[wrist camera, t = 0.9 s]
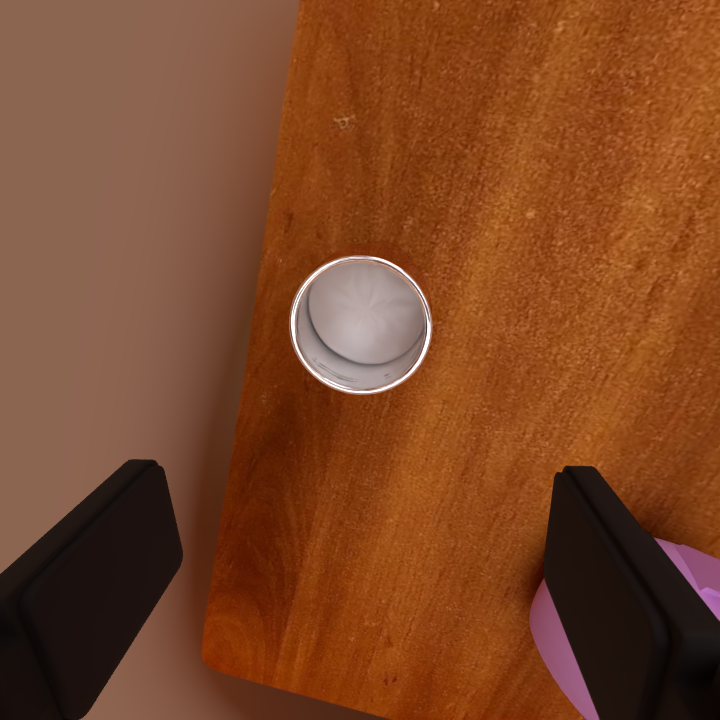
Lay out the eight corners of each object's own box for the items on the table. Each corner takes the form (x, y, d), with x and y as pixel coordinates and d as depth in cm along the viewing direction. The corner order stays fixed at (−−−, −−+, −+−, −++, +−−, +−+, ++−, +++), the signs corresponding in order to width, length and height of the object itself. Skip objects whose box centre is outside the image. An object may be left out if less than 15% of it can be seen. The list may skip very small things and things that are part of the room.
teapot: (804, 532, 36) (1059, 732, 22) (661, 669, 43) (787, 889, 29) (606, 447, 36) (741, 599, 21) (491, 600, 42) (537, 793, 28)
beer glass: (376, 214, 31) (355, 213, 17) (440, 279, 32) (471, 327, 18) (316, 281, 33) (253, 330, 19) (378, 340, 34) (363, 426, 20)
